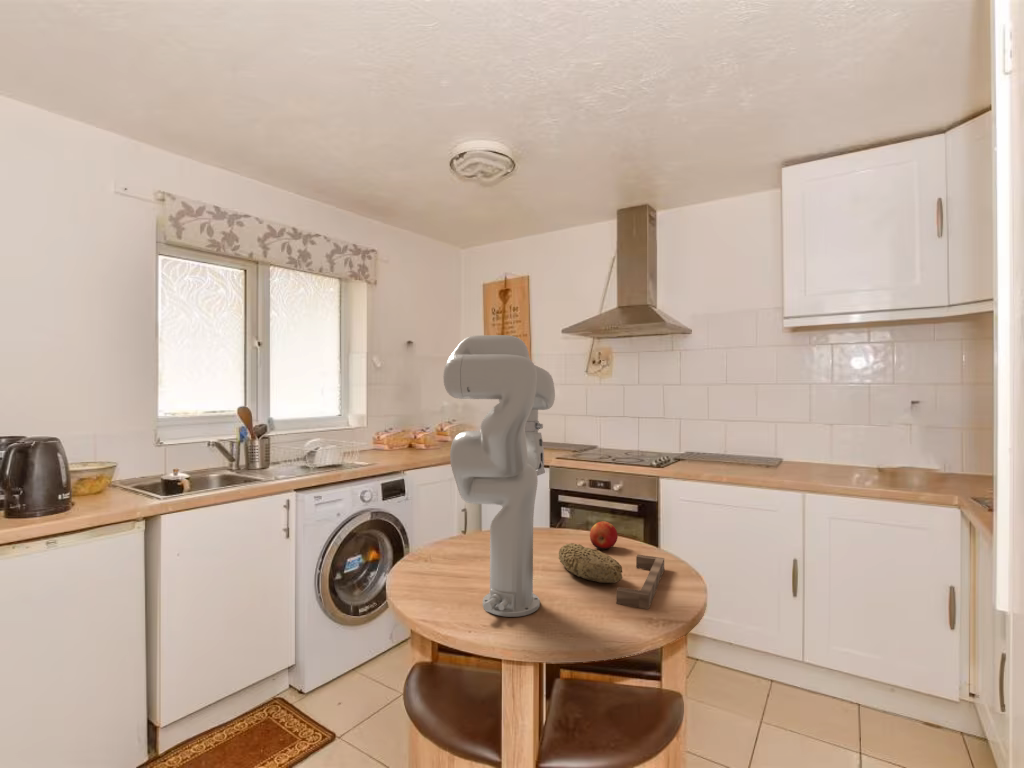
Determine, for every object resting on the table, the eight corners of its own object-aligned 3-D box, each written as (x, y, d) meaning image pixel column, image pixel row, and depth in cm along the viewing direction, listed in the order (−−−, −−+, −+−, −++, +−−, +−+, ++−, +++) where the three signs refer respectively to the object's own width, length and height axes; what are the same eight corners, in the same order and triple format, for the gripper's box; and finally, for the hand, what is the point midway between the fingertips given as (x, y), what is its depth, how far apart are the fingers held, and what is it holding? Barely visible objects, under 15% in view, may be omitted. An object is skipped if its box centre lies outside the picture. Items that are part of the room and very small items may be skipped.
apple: (620, 547, 154) (620, 521, 154) (610, 555, 147) (610, 527, 147) (596, 543, 158) (596, 517, 158) (585, 550, 151) (585, 523, 151)
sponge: (553, 569, 138) (574, 580, 119) (557, 539, 140) (578, 546, 121) (599, 576, 140) (627, 588, 121) (602, 547, 142) (630, 554, 123)
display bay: (648, 609, 110) (648, 595, 110) (616, 603, 113) (616, 590, 113) (664, 569, 135) (664, 558, 135) (637, 565, 138) (637, 554, 138)
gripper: (556, 427, 138) (555, 495, 137) (503, 425, 144) (503, 490, 144) (546, 429, 131) (546, 501, 131) (492, 427, 137) (491, 495, 137)
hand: (523, 495), depth 137 cm, fingers closed
